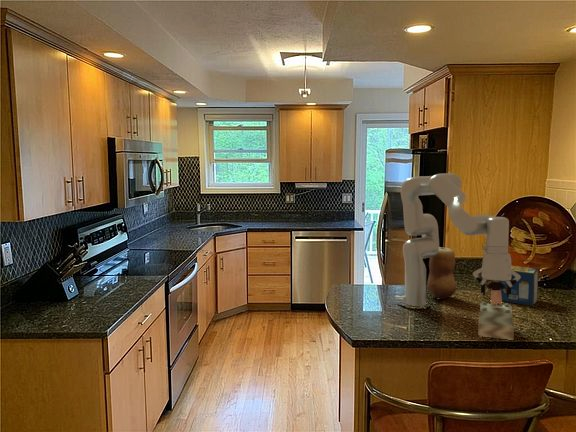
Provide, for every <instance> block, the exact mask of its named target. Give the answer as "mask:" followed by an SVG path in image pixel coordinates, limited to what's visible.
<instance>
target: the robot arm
mask: <svg viewBox="0 0 576 432" xmlns="http://www.w3.org/2000/svg"><path fill="white" fill-rule="evenodd" d="M462 183H463V182H462V178H461V177H460V176H459V175H457V174H455V173H451V172H449V173H445V172H444V173H436V174H434V175H429V176H428V175H427V176H426V175H425V176H424V175H423V176H422V175H421V176H413V177H412V176H411V177H408V178H406V179H405V180H404V181H403V183H402V184H401V186H400V197H401V202H402V207H403V208H402V209H403V224H404V230H405V231H404V232H405V233H406V234H407V235H408V236H414V237H415V236H421V237H416V238H410V239H408V240H406V241H405V242H404V243H403V245H402V256H403V259H404V295H401V296H400V295H395V297H394V298H395V300H396V301H397V302H401V303H402V302H403V303H406V304H408V305H412V306H424V305H426V302H427V266H426V264H425V262H424V260H423V259H428V258H429V259H430V257H433V256H435V255H437V253H438V251H439V247H440V238H439V235H440V234H439V225H438V221H437V219H436V218H435V216H434V215H432V214H430V213H424V211H423V204H422V202H421V200H420V198H419V196H431V195H432V196H433V195H434V196H436V197H437V198H438V199H439V200H441V202H442V203H444V205H445V206H446V207H447V208H448V215H449V218H450V221H451V222H452V224H454V226H455V227H456V228H457V229H458V230H459V231H460V232H461V233H463V234H464V235H466V236H478V235H485V234H486V238H485V239H486V243H485V245H482V247H481V249H482V251H483V250H484V253H483V257H482V263H481V267H480V268H479V269H476V270H475V271H473V272H472V276H473V277H474V278H475V280H476V281H477V282H478V283H479V284H480V293H482V296H485V295H486V292H485V290H486V282H487V281H493V280H496V281H506V282H507V284H508V285H507V297H509V295H511V287H512V286H513V285H514V284H515V283H517V281H518V280H519V279H520V278H521V276H520V275H519V274H517V273H516V272H514V271H513V270H512V268H511V266H512V257H511V254H510V253H509V235H510V234H509V233H510V220H509V218H507V217H505V216H493V215H489V214H477V215H470V214H469V213H468V212H467V211H466V210H465V209H464V208H463V206H462V205H463V204H464V203H466V199H467V195H466V193H465V192H464V191H463V190H461V188H462V185H463V184H462ZM479 274H481V277H482V278H481V277H480V276H479ZM511 275H514V276H515V279H513V280H512V281H510V280H511Z"/></svg>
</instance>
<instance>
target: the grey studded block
mask: <svg viewBox="0 0 576 432" xmlns="http://www.w3.org/2000/svg"><path fill="white" fill-rule="evenodd" d="M490 304H491V303H487V302H486V301H482V302H480V303H479V314H478V317H477V318H478V323H477V324H478V325H477V326H478V327H477V330H478V331H477V333H478V335H481V336H487V337H494V338H501V339H508V340H514V341H515V339H514V338H515V326H514V321H513V320H514V318H513V316H514V315H513V314H514V313H513V309H512V305H511V304H509V303H504V304H502V305H503V306H502V307H500V306H497V304H496V307H493V306H491V305H490ZM478 335H477V336H478ZM508 340H507V341H508Z"/></svg>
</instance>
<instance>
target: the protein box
mask: <svg viewBox="0 0 576 432" xmlns="http://www.w3.org/2000/svg"><path fill="white" fill-rule="evenodd" d="M511 268H512V270H513V271H514V272H516V273H517V274H519V275H520V276H521V278H520V279H519V280H518V281H517V283H515V284H514V285H513V286H512V287H511V295H509V297H507V293H504V291H503V289H502V288H500V289H501V295H502V302H505V303H512V304H518V305H524V306H531V307H533V306H534V305H535V304H536V303H537V302H538V294H539V293H538V292H539V291H538V289H539V268H538V267H537V268H536V267H525V266H516V265H511ZM513 279H515V276H514V275H511V280H510V281H512V280H513ZM499 282H500V283H502V284H503V285H504V287H505V289H506V291H507V285H508V284H507V282H506V281H499Z"/></svg>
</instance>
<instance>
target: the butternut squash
mask: <svg viewBox="0 0 576 432" xmlns="http://www.w3.org/2000/svg"><path fill="white" fill-rule="evenodd" d="M455 265H456V253H455V251H454V250H453V249H451V248H449V247H441V246H439V251H438V253H437V255H435V256H433V257H429V262H428V268H429V273H428V278H427V280H426V287H427V289H428V291H429V292H430V294H432V296H435V297H436V298H440V299H439V300H442V299H443V298H445V299H447V298H449V297H452V296H453V295H454V294H455V292H456V291H457V283H456V280H455V277H454V270H455ZM435 297H434V298H435Z"/></svg>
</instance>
